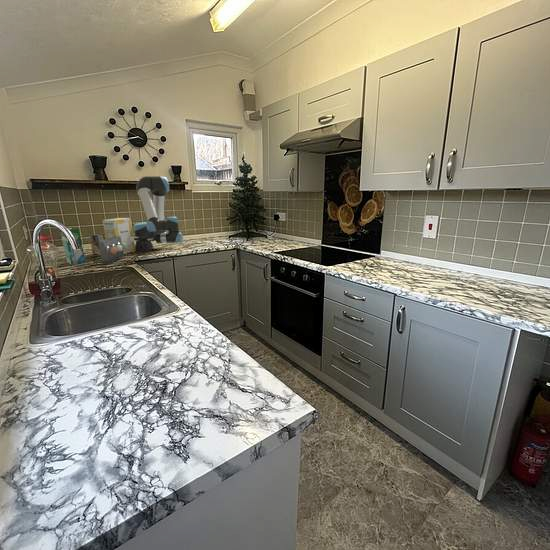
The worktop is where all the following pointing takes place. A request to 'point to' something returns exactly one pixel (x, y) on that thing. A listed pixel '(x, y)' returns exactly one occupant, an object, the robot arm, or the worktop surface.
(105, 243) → the button panel
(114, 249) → the terracotta button
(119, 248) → the cream button
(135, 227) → the robot arm
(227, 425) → the worktop surface
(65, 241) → the milk carton
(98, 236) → the coffee box
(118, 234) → the pasta box
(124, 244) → the sage green button
